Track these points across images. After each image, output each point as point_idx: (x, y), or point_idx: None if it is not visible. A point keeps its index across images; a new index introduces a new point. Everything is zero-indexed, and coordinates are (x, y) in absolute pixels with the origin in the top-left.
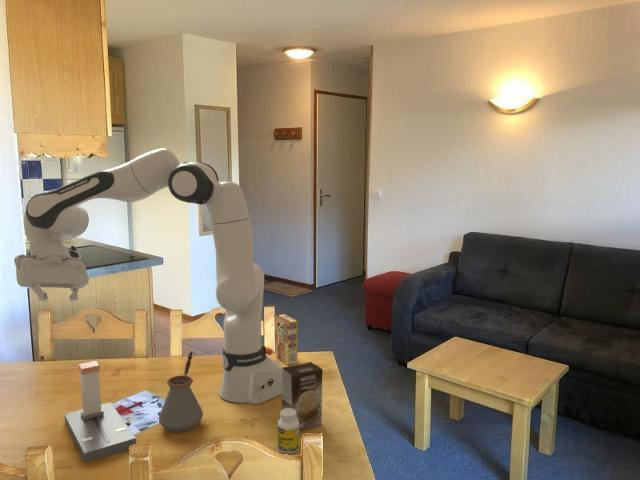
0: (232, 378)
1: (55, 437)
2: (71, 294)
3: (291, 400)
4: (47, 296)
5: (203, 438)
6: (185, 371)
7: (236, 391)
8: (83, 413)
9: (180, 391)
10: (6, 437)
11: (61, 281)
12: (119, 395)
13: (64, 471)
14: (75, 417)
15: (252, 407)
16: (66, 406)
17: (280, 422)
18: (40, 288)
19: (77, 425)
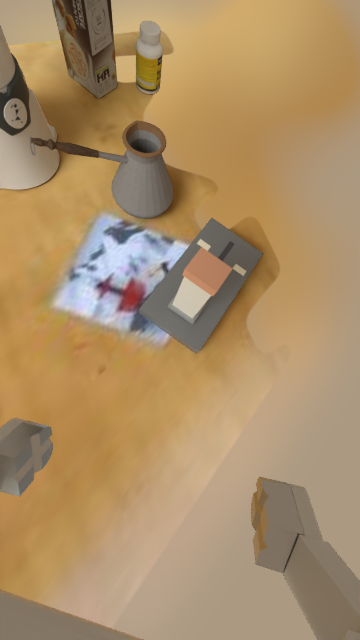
0: (38, 129)
1: (231, 334)
2: (18, 470)
3: (110, 32)
4: (263, 486)
5: None
6: (95, 151)
7: None
8: (199, 311)
9: (157, 144)
10: (260, 402)
11: (29, 618)
12: (86, 335)
13: (277, 270)
14: (200, 326)
15: (65, 137)
16: (152, 394)
17: (157, 49)
18: (351, 600)
19: (217, 306)
